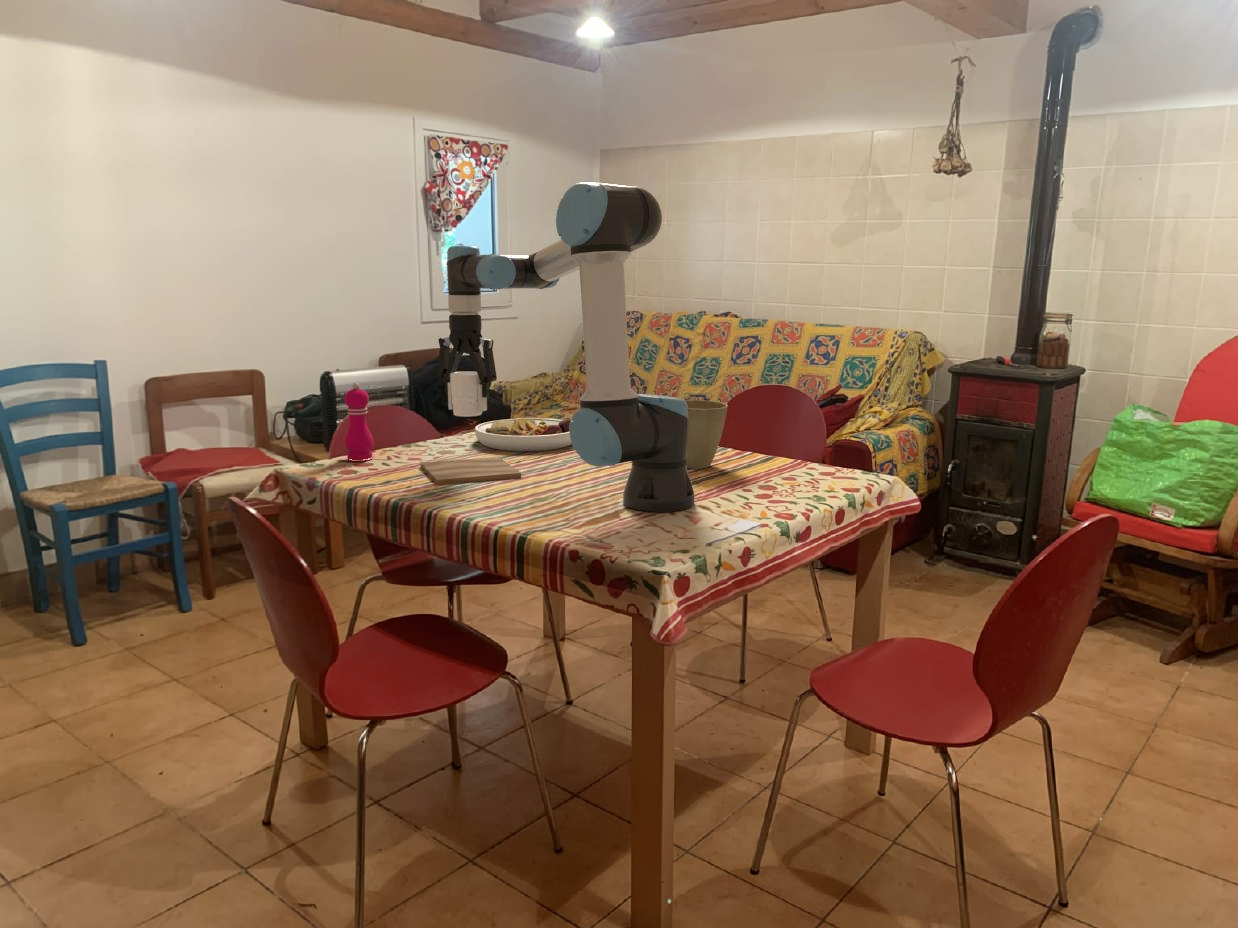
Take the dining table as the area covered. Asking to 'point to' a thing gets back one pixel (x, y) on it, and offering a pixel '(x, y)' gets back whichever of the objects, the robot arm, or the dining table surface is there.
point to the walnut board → (469, 470)
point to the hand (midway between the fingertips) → (467, 409)
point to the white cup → (465, 393)
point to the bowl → (524, 434)
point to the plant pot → (704, 431)
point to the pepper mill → (358, 425)
